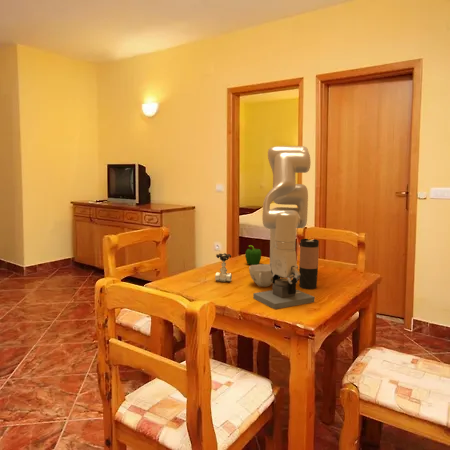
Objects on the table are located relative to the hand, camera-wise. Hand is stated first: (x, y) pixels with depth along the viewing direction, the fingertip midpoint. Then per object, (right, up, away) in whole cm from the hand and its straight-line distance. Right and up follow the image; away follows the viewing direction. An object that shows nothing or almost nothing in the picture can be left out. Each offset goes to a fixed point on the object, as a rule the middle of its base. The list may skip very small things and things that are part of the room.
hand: (283, 290), depth 154 cm
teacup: (-6, -1, +20) cm, 21 cm away
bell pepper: (-7, +4, +60) cm, 60 cm away
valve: (-23, -1, +25) cm, 34 cm away
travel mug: (+13, -2, +19) cm, 23 cm away
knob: (0, -2, 0) cm, 2 cm away
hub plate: (0, -4, 0) cm, 4 cm away
